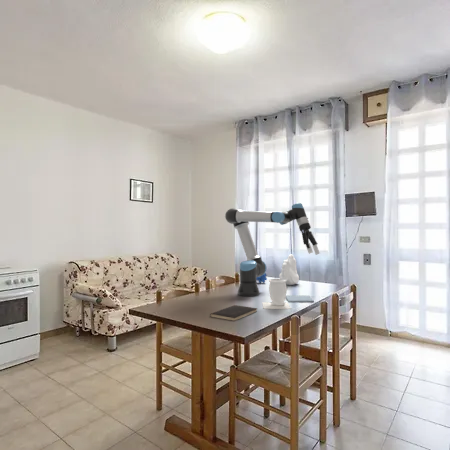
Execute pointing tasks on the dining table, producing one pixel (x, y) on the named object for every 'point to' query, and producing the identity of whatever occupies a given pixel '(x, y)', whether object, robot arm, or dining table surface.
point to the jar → (277, 291)
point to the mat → (299, 298)
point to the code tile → (269, 306)
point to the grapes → (261, 278)
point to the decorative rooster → (289, 271)
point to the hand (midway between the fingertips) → (314, 253)
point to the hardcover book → (233, 312)
